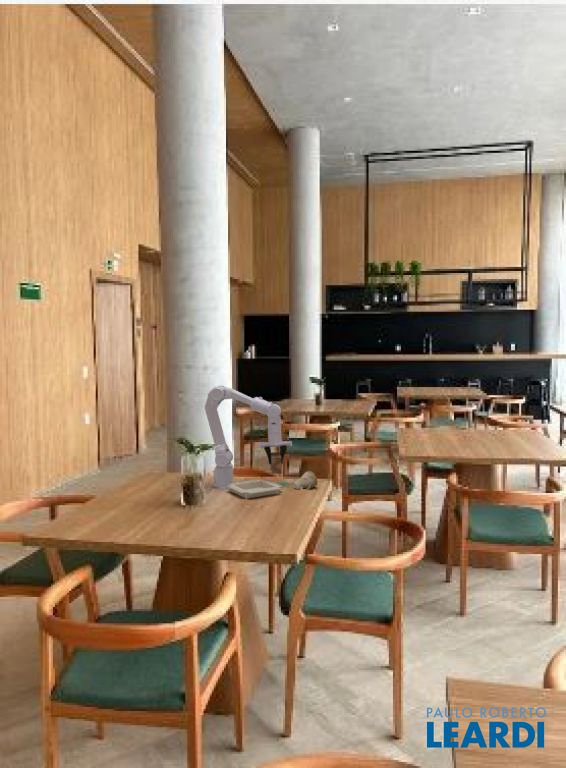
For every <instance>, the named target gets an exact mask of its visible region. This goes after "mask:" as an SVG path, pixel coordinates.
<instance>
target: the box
mask: <svg viewBox="0 0 566 768" xmlns="http://www.w3.org/2000/svg"><path fill="white" fill-rule="evenodd" d="M269 466H270V471H271V474H272V475H275V474H276V475H277V474H282V473H283V472H282V464H281V455H280V451H277V452H272V451H271V464H269Z"/></svg>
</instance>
